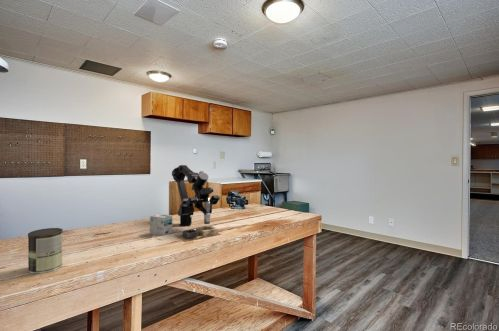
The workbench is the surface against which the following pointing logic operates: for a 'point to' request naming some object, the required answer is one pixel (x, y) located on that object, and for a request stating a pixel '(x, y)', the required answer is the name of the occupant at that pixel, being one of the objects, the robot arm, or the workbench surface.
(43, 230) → the coffee can
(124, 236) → the workbench surface
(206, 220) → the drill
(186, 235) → the socket rack board
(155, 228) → the light bulb box
